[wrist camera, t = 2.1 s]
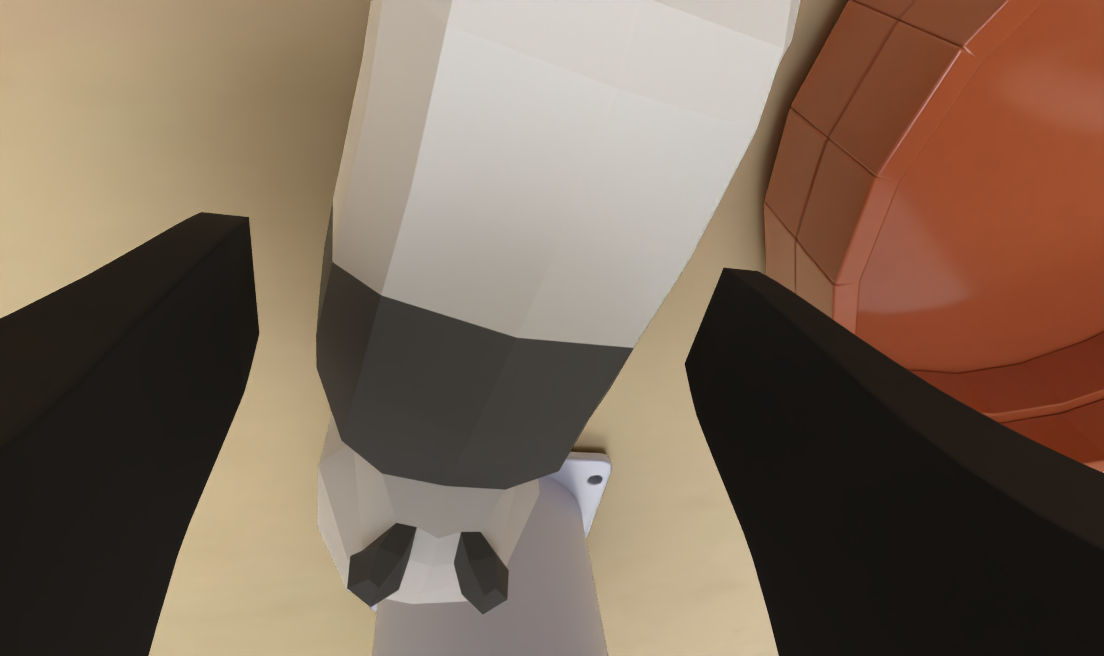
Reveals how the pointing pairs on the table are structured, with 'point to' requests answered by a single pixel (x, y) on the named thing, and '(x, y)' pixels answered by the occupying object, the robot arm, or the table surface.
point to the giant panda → (509, 255)
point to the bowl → (958, 202)
